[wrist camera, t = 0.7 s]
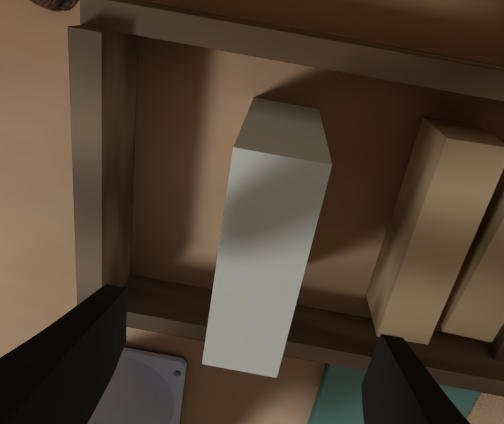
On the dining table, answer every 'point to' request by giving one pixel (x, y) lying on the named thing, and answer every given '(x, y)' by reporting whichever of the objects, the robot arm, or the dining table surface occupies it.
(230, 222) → the grey sheet
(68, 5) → the wooden tablet
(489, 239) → the offcut block small
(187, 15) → the rack
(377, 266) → the offcut block large
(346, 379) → the mat
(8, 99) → the dining table surface
